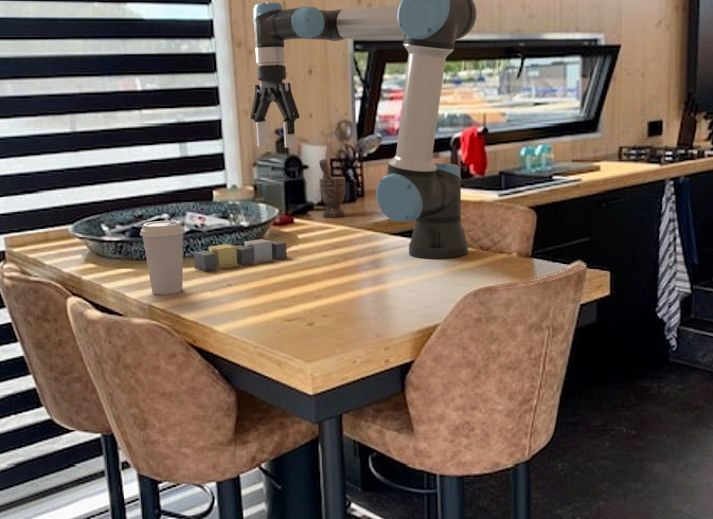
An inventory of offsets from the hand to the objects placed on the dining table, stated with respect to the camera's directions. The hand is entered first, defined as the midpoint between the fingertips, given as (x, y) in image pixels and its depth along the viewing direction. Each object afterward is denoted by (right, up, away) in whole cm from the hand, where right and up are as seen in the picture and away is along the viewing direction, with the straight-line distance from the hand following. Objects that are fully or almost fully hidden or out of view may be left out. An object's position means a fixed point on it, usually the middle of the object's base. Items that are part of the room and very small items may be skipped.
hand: (275, 146), depth 225 cm
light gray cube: (-4, -30, -9) cm, 32 cm away
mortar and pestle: (+14, -16, +62) cm, 65 cm away
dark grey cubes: (-8, -31, -11) cm, 34 cm away
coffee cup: (-20, -37, -40) cm, 58 cm away
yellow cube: (-12, -32, -14) cm, 37 cm away
